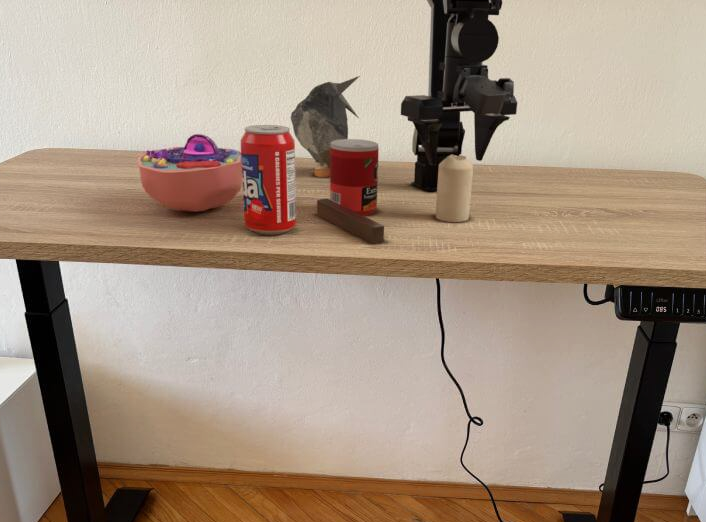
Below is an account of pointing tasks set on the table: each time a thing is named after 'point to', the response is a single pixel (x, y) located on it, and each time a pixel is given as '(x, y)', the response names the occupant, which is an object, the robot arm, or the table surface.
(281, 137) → the soda can
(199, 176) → the cell model
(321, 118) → the grey bird figurine
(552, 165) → the table surface
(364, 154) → the canned food
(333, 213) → the walnut rail
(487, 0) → the robot arm
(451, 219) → the candle
